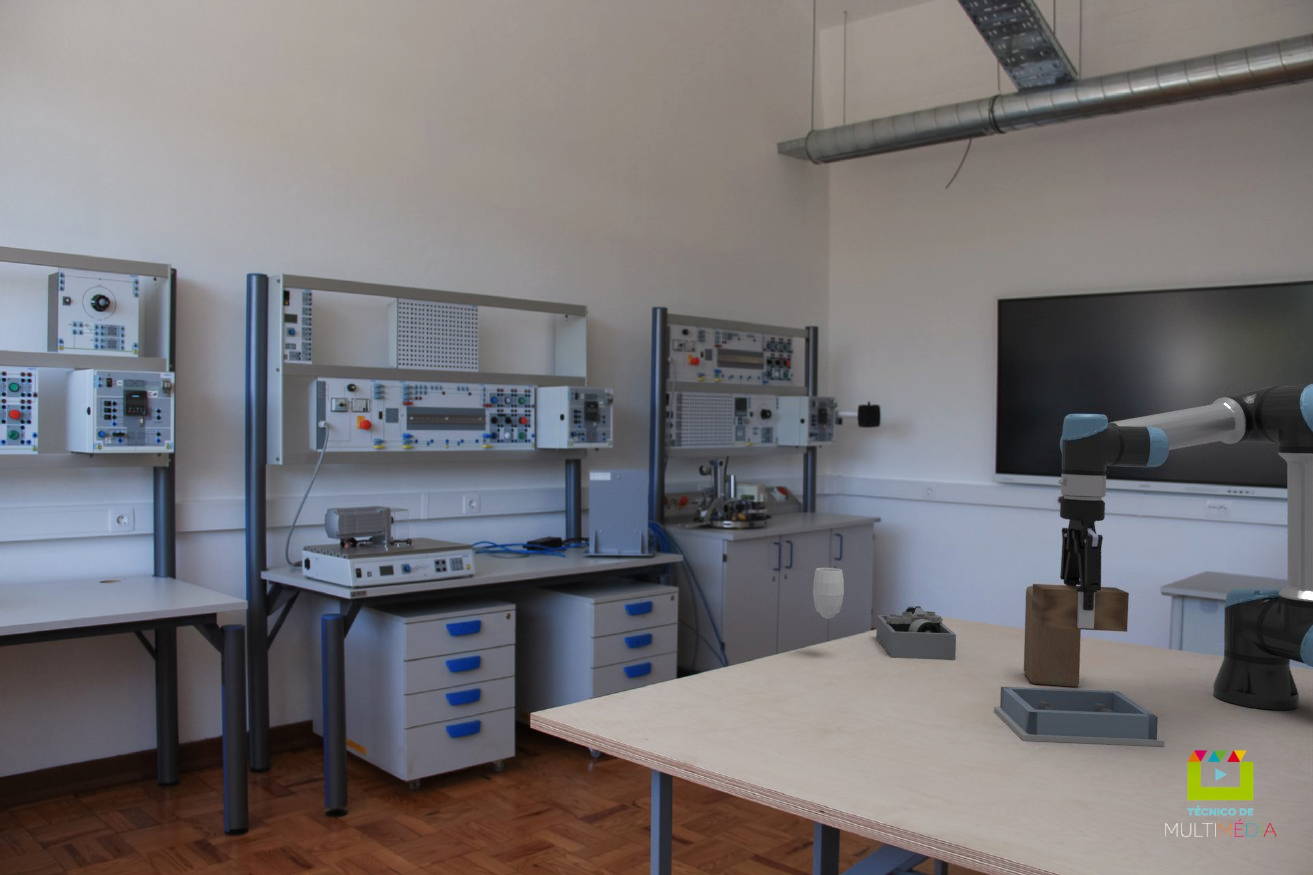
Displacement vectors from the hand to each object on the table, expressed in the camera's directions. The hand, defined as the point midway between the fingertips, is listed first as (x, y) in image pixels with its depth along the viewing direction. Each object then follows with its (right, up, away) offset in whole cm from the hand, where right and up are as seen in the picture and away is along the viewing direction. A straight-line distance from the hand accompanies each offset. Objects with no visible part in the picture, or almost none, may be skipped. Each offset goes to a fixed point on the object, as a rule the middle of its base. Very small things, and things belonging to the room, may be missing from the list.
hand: (1078, 623), depth 181 cm
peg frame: (-1, -19, 0) cm, 19 cm away
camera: (-13, -18, +65) cm, 68 cm away
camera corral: (-13, -18, +65) cm, 68 cm away
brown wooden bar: (0, 0, 0) cm, 0 cm away
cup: (-37, -18, +53) cm, 67 cm away
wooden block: (+9, -19, +35) cm, 41 cm away
